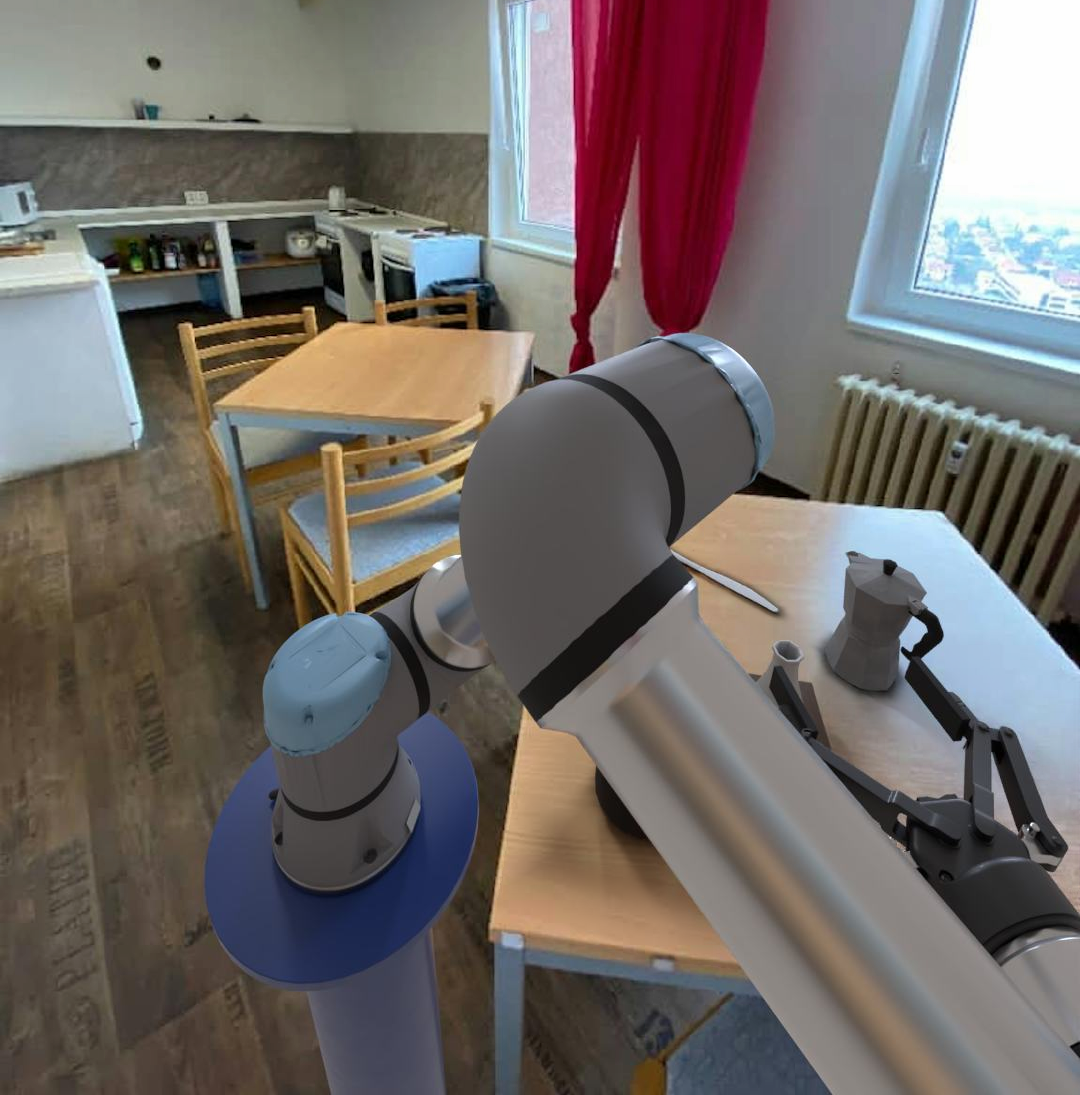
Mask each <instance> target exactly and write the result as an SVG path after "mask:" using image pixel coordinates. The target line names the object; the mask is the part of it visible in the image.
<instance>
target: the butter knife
mask: <svg viewBox="0 0 1080 1095" xmlns="http://www.w3.org/2000/svg"><path fill="white" fill-rule="evenodd" d="M670 550H671V552H672V553H673V554H674V556H675V557H676V558H677V559H678V560H679V561H680V563H682V564H685V565H687V566H689V567H691V568H692V569H694V570H696V571H699V572H701V573H702V574H704V575H706V576H707V577H709V578H711V579H713V580H714V581H716V582H718V583H719V584H721V585H724V586H725V587H726V588H728V589H731V590H732V591H734V592H736V593H737V594H740V595H742V596H743V597H746V598H748V599H749V600H752V601H753V602H756V603H757V604H759V605H761V606H763V607H765V608H766V609H768V610H770V611H772V612H773V613H778V611H779V609H778V608H777V607H776V606H775V605H773V604H772V603H771V602H769V601H768V600H767V599H766V598H764V597H763V596H762V595H760V594H758V593H757V592H756V591H754V590H753V589H751V588H749V587H747V586H746V585H744V584H741V583H739V582H738V581H735V580H733V579H731V578H729V577H728V576H725V575H723V574H720V573H717V572H716V571H713V570H710V569H709V568H705V567H704V566H702V565H699V563H698V564H697V563H696V562H693V561H692V560H690V559H688V558H686V557H685V556H683V555H680V554H679V553H677V552H675V551H674V550H673V549H671V548H670Z"/></svg>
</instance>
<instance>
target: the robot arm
mask: <svg viewBox="0 0 1080 1095" xmlns="http://www.w3.org/2000/svg"><path fill="white" fill-rule="evenodd" d="M775 439H776V431H775V413H774V408H773V404H772V401H771V398H770V395H769V393H768V391H767V389H766V387H765V385H764V383H763V381H762V379H761V378H760V376H759V374H757V372H756V371H755V369H754V368H753V367H752V366H751V365H750V363H749V362H747V361H746V359H745V358H744V357H742V355H741V354H739V353H738V352H737V351H735V350H734V349H733V348H731V347H730V346H729V345H727V344H725V343H723V342H721V341H719V340H717V339H715V338H712V337H710V336H708V335H702V334H698V333H691V332H690V333H688V332H678V333H672V334H669V335H666V336H665V335H664V336H663V335H662V336H661V335H660V336H654V337H651V338H648V339H646V340H644V341H642V342H640V343H639V344H638V345H637V346H636V347H635V348H631V349H630V350H627V351H624V352H622V353H620V354H619V353H618V354H617V355H614V356H612V357H609V358H607V359H604V360H603V361H599V362H597V363H595V364H592V365H589V366H587V367H584V368H581V369H579V370H577V371H574V372H572V373H569V374H566V375H564V376H561V377H559V378H557V379H554V380H549V381H546V382H543V383H541V384H540V383H539V384H538V385H536V386H534V387H532V388H530V389H528V390H526V391H524V392H521V393H520V394H518V395H517V396H516V397H515V398H513V399H512V400H511V401H509V402H508V403H507V404H505V405H504V406H503V407H502V408H501V409H500V410H498V412H497V413H496V414H495V415H493V416H492V418H491V419H490V420H489V422H487V425H486V426H485V428H484V429H483V430H482V432H481V434H480V435H479V436H478V439H477V441H476V443H475V445H474V447H473V449H472V451H471V453H470V457H469V460H468V461H467V464H466V467H465V472H464V475H463V479H462V484H461V492H460V500H459V511H458V535H459V550H460V554H453V555H450V556H446V557H444V558H442V559H441V560H438V561H437V562H435V563H433V565H431V567H430V568H428V570H427V571H426V572H425V573H424V574H423V576H422V577H420V579H419V580H418V582H416V583H415V585H414V586H412V587H411V588H410V589H408V590H407V591H405V592H404V593H403V594H401V595H399V596H398V597H396V598H394V599H393V600H391V601H389V602H388V603H386V604H385V605H383V606H381V607H379V608H377V609H376V610H375V611H373V612H371V613H370V614H369V615H368V614H365V613H362V612H357V611H345V612H344V614H343V615H342V616H339V615H338V614H337V613H336V612H334V613H330V614H326V615H323V616H321V617H319V618H316V619H314V620H311V621H310V622H308V623H307V624H305V625H304V626H302V627H301V628H299V629H298V630H297V631H295V632H294V633H293V634H292V635H290V636H289V638H288V639H287V640H285V642H284V643H283V644H282V645H280V647H279V649H278V650H277V651H276V653H275V655H274V656H273V658H272V660H271V662H270V663H269V667H268V669H267V672H266V675H265V676H264V680H263V683H262V684H263V685H262V703H263V727H264V732H265V734H266V737H267V738H268V741H269V742H270V746H271V747H272V752H273V756H274V761H275V765H276V770H277V774H278V779H279V783H280V788H278V789H275V790H273V791H271V792H270V793H269V798H270V799H271V800H273V799H276V798H277V799H276V803H275V807H274V811H273V815H272V824H271V843H272V848H273V852H274V857H275V860H276V863H277V866H278V868H279V870H280V872H281V874H282V875H283V877H284V878H285V879H286V880H287V881H288V882H289V883H290V884H291V885H292V886H293V887H294V888H296V889H298V890H299V891H301V892H304V893H306V894H309V895H312V896H318V897H337V896H342V895H347V894H350V893H353V892H356V891H358V890H361V889H363V888H364V887H366V886H368V885H370V884H372V883H373V882H375V881H376V880H378V879H379V878H380V877H382V876H383V875H384V874H385V873H386V872H387V871H389V870H390V869H391V868H392V867H393V865H394V864H395V863H396V862H397V861H398V860H399V858H400V857H401V856H402V855H403V853H404V852H405V850H406V849H407V847H408V845H409V843H410V842H411V840H412V837H413V835H414V833H415V830H416V828H417V824H418V821H419V816H420V809H421V794H420V783H419V778H418V775H417V772H416V769H415V767H414V764H413V762H412V761H411V759H410V757H409V756H408V755H407V753H406V752H405V751H404V750H403V749H402V748H401V747H400V745H399V742H398V735H399V734H400V733H402V732H403V731H404V730H406V729H407V728H408V727H409V726H411V725H412V724H413V723H415V722H416V721H417V720H418V719H419V718H421V717H422V716H423V715H424V714H426V713H427V712H428V713H429V711H431V710H432V709H434V708H435V707H436V706H437V705H439V703H441V702H442V701H443V700H445V699H446V698H447V697H449V696H450V695H451V694H452V693H453V692H455V691H456V690H457V689H458V688H460V687H461V686H462V685H464V684H465V683H466V682H468V681H469V680H470V679H471V678H474V676H476V675H477V674H478V673H480V672H482V670H485V669H486V668H487V667H488V666H490V665H491V664H493V663H494V662H496V663H497V666H498V667H499V670H500V671H501V673H502V675H503V677H504V679H505V680H506V682H507V683H508V685H509V686H510V687H511V689H512V691H513V692H514V693H515V695H516V696H517V698H518V699H519V700H520V702H521V704H522V706H524V709H526V711H527V712H528V714H529V715H530V717H531V718H532V720H533V721H534V722H535V724H536V725H537V726H538V727H539V729H541V730H547V731H554V732H559V733H565V734H569V735H571V736H573V737H575V738H576V739H577V741H578V743H579V744H580V745H581V747H582V748H583V749H584V750H585V752H586V753H587V755H588V756H589V758H590V759H591V760H592V762H593V763H594V764H595V767H596V766H597V767H598V769H599V770H600V771H601V773H602V774H603V775H604V777H605V778H606V780H607V781H608V782H609V784H610V785H611V787H612V788H613V789H614V791H615V792H616V794H617V795H618V796H619V798H620V799H621V801H622V802H623V803H624V805H625V806H626V808H627V809H628V810H629V812H630V813H631V814H632V816H633V817H634V819H635V820H636V821H637V823H638V824H639V826H640V827H641V828H642V830H643V831H644V833H645V834H646V835H647V837H648V838H649V840H648V841H650V842H651V844H652V845H653V847H654V848H655V849H656V851H657V852H658V853H659V855H660V857H661V858H662V859H663V860H664V862H665V863H666V865H667V866H668V868H669V869H670V870H671V872H672V873H673V874H674V876H675V877H676V879H677V880H678V881H679V883H680V884H681V886H682V887H683V888H684V890H685V891H686V893H687V894H688V896H689V897H690V898H691V899H692V901H693V902H694V903H695V906H697V908H698V910H699V911H700V912H701V913H702V915H703V916H704V917H705V919H706V921H707V922H708V923H709V925H710V926H711V927H712V929H713V930H714V932H715V933H716V935H717V936H718V937H719V939H720V940H721V941H722V943H723V944H724V946H725V947H726V948H727V950H728V951H729V952H730V955H732V957H733V958H734V960H735V961H736V962H737V964H738V965H739V966H740V968H741V969H742V971H743V972H744V974H745V975H746V976H747V977H748V979H749V981H750V982H751V983H752V985H753V986H754V987H755V989H756V990H757V991H758V993H759V994H760V996H761V997H762V999H763V1000H764V1001H765V1002H766V1004H767V1006H768V1007H769V1008H770V1009H771V1011H772V1012H773V1013H774V1016H776V1018H777V1020H778V1021H779V1022H780V1024H781V1025H782V1026H783V1028H784V1029H785V1030H786V1032H787V1033H788V1035H789V1036H790V1037H791V1039H792V1040H793V1042H794V1043H795V1044H796V1046H797V1047H798V1048H799V1050H800V1052H801V1053H802V1054H803V1055H804V1057H805V1058H806V1060H807V1062H808V1063H809V1064H810V1065H811V1066H812V1068H813V1069H814V1071H815V1072H816V1073H817V1075H818V1077H819V1078H820V1079H821V1081H822V1082H823V1084H824V1085H825V1086H826V1088H827V1089H828V1090H829V1092H830V1093H831V1094H832V1095H1080V913H1079V911H1077V910H1078V909H1076V908H1075V906H1074V905H1073V904H1072V903H1071V901H1070V900H1069V899H1068V897H1067V896H1066V895H1065V894H1064V892H1063V891H1062V889H1061V888H1060V887H1059V885H1058V884H1057V882H1055V881H1054V879H1053V877H1051V875H1050V873H1055V872H1056V871H1057V869H1058V867H1059V866H1060V864H1061V862H1062V861H1063V859H1064V857H1065V856H1066V854H1067V852H1068V850H1069V845H1068V843H1067V842H1066V840H1065V839H1064V838H1063V836H1062V834H1061V833H1060V832H1059V830H1058V829H1057V827H1056V826H1055V825H1054V823H1053V822H1052V820H1051V819H1050V818H1049V816H1048V814H1047V810H1046V808H1045V806H1044V803H1043V801H1042V798H1041V796H1040V793H1039V789H1038V787H1037V785H1036V782H1035V779H1034V776H1033V774H1032V772H1031V769H1030V766H1029V763H1028V761H1027V758H1026V755H1025V753H1024V750H1023V747H1022V745H1021V743H1020V740H1019V737H1018V735H1017V733H1016V732H1015V731H1014V729H1012V728H1011V727H1008V726H1005V725H1002V726H1000V727H999V728H995V727H990V726H989V725H988V724H987V723H985V722H984V721H982V720H979V719H978V718H977V716H976V715H975V714H974V713H973V712H972V710H971V709H970V708H969V707H968V706H967V704H966V703H964V701H963V700H962V699H961V697H960V696H959V695H957V693H955V692H953V691H948V690H947V688H946V687H945V686H944V685H943V683H942V682H941V681H940V680H939V679H938V678H937V676H936V674H934V673H933V672H932V670H931V669H930V668H929V666H927V665H926V663H925V662H924V661H923V659H921V658H920V657H919V656H918V657H911V660H910V661H909V662H908V666H907V668H906V671H905V674H904V677H903V678H904V680H905V681H906V683H907V684H908V685H909V686H910V688H911V689H912V690H913V691H914V692H915V694H916V695H917V697H918V698H919V699H920V701H921V702H922V703H923V704H924V706H925V707H926V708H927V710H928V711H929V712H930V714H931V715H932V716H933V717H934V719H935V720H936V721H937V723H938V724H939V725H940V726H941V728H942V729H943V730H944V731H945V733H946V735H947V736H948V737H949V738H950V740H951V741H952V742H953V743H954V742H962V740H963V738H964V739H965V742H964V745H963V747H962V749H963V750H964V768H963V769H964V770H963V772H964V773H963V776H964V777H963V798H962V797H958V795H957V793H947V794H944V795H942V796H940V797H933V796H928V795H924V796H917V797H916V799H915V800H914V799H913V798H912V797H910V796H909V795H907V794H906V793H904V792H903V791H901V790H892V789H890V788H889V787H887V786H886V785H884V784H882V783H881V782H879V781H878V780H876V779H875V778H873V777H872V776H870V775H868V773H866V772H864V771H863V770H861V769H859V767H857V766H855V765H854V764H852V763H851V762H849V761H848V760H846V759H845V758H843V757H842V756H841V755H838V754H837V753H836V752H834V751H831V750H832V749H831V750H830V749H828V748H827V747H825V746H824V745H822V744H821V743H819V742H818V741H816V739H817V736H818V732H819V731H818V729H817V727H816V726H815V724H814V722H813V720H812V718H811V717H810V715H809V713H808V711H807V710H806V708H805V706H804V704H803V702H802V701H801V699H800V697H799V695H798V694H797V692H796V690H795V688H794V686H793V685H792V683H791V681H790V679H789V678H788V676H787V674H786V672H785V670H784V669H783V667H782V666H774V669H773V673H772V677H771V681H770V685H769V688H770V690H771V692H772V694H773V696H774V698H775V700H776V702H777V704H778V706H779V709H778V708H777V707H776V706H775V704H774V703H773V702H772V701H771V700H770V699H769V697H768V696H767V695H766V694H765V693H764V692H763V690H762V689H761V688H760V687H759V686H758V685H757V683H756V682H755V681H754V680H753V679H752V678H751V676H750V675H749V674H750V673H749V674H748V671H747V670H745V668H744V667H743V666H742V665H741V664H740V662H739V661H738V660H737V659H736V657H734V655H733V654H732V653H731V652H730V651H729V650H728V648H727V647H726V646H725V645H724V644H723V642H722V641H721V640H720V639H719V638H718V637H717V636H716V634H714V632H713V631H712V630H711V629H710V627H708V625H707V624H706V623H705V622H704V621H703V619H702V616H701V615H700V609H699V608H700V607H699V604H700V603H699V582H698V580H696V578H695V577H694V575H692V574H691V573H690V571H689V570H688V569H687V568H686V567H685V566H684V564H683V563H682V562H681V561H679V560H678V559H677V558H676V557H675V556H674V554H673V553H672V552H671V550H672V549H671V547H672V546H673V545H674V544H675V543H677V542H678V541H679V540H680V539H681V538H682V537H684V536H685V535H686V534H688V533H689V532H690V531H691V530H692V529H694V528H695V527H696V526H697V525H698V524H700V522H702V521H703V520H705V519H706V518H707V517H708V516H709V515H710V514H712V513H713V511H715V510H716V509H717V508H719V507H720V506H721V505H722V504H723V503H725V502H726V501H727V500H728V499H729V498H731V497H732V496H733V495H734V494H736V492H738V491H740V490H743V489H744V488H746V487H747V486H749V485H751V484H752V483H754V481H755V479H756V477H757V475H758V473H759V472H760V470H761V469H762V468H763V467H764V466H765V465H766V463H767V461H768V459H769V458H770V456H771V453H772V451H773V447H774V445H775ZM669 547H670V549H671V550H670V549H669ZM992 758H993V761H994V764H995V767H996V771H997V773H998V776H999V779H1000V782H1001V785H1002V788H1003V792H1004V795H1005V797H1006V801H1007V804H1008V807H1009V810H1010V813H1011V816H1012V819H1013V823H1014V825H1015V828H1016V830H1017V832H1018V833H1017V834H1016V833H1015V832H1013V831H1012V830H1011V829H1010V828H1008V827H1006V826H1005V825H1003V824H1002V823H1001V822H999V821H998V820H996V819H995V794H994V792H993V791H992V788H993V787H992V784H993V783H992V779H993V777H992ZM900 814H902V815H905V816H906V818H905V824H903V823H902V822H901V821H899V819H898V817H899V815H900ZM897 843H899V844H900V845H902V846H903V847H904V848H905V850H903V849H901V848H899V847H898V846H897Z"/></svg>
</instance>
